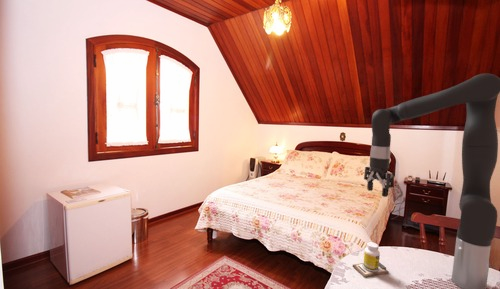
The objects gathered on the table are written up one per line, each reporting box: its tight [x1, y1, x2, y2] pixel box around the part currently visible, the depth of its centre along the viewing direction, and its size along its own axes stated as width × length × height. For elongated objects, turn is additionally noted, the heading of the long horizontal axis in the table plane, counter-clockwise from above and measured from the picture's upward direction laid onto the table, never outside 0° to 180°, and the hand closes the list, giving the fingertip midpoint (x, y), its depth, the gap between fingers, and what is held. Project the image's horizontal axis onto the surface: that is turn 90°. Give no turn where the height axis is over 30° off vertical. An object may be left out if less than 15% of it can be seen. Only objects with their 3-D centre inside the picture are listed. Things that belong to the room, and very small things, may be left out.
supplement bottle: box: [362, 241, 381, 272], centre depth 99 cm, size 5×5×10 cm
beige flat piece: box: [352, 261, 390, 279], centre depth 100 cm, size 11×7×2 cm, turn 104°
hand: (377, 193), depth 109 cm, fingers open, 8 cm apart
